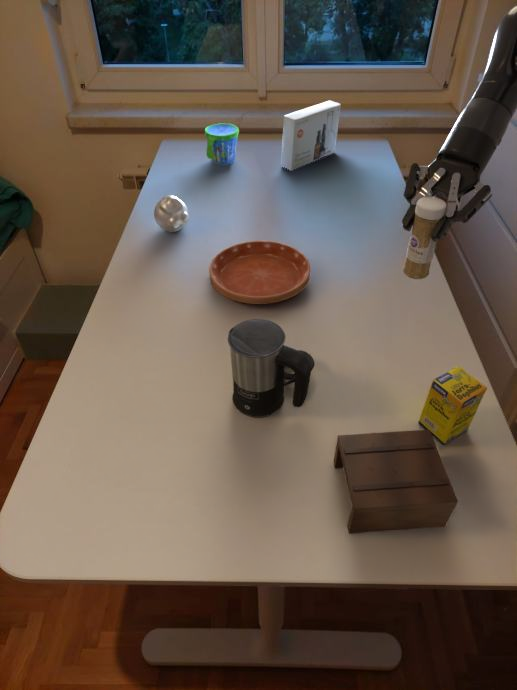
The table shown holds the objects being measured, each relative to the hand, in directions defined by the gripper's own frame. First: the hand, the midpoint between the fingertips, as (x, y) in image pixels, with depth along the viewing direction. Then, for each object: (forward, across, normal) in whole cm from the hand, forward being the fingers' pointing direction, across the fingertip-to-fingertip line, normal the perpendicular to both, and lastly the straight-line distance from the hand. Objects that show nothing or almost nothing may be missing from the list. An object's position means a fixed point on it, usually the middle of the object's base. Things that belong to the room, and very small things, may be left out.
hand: (420, 234), depth 81 cm
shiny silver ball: (+18, -67, +17) cm, 72 cm away
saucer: (+19, -35, +17) cm, 43 cm away
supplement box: (+26, +16, +10) cm, 33 cm away
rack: (+38, +16, -2) cm, 41 cm away
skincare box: (-23, -69, +59) cm, 94 cm away
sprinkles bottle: (+5, 0, +8) cm, 9 cm away
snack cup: (-10, -90, +45) cm, 101 cm away
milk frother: (+35, -11, +1) cm, 36 cm away
